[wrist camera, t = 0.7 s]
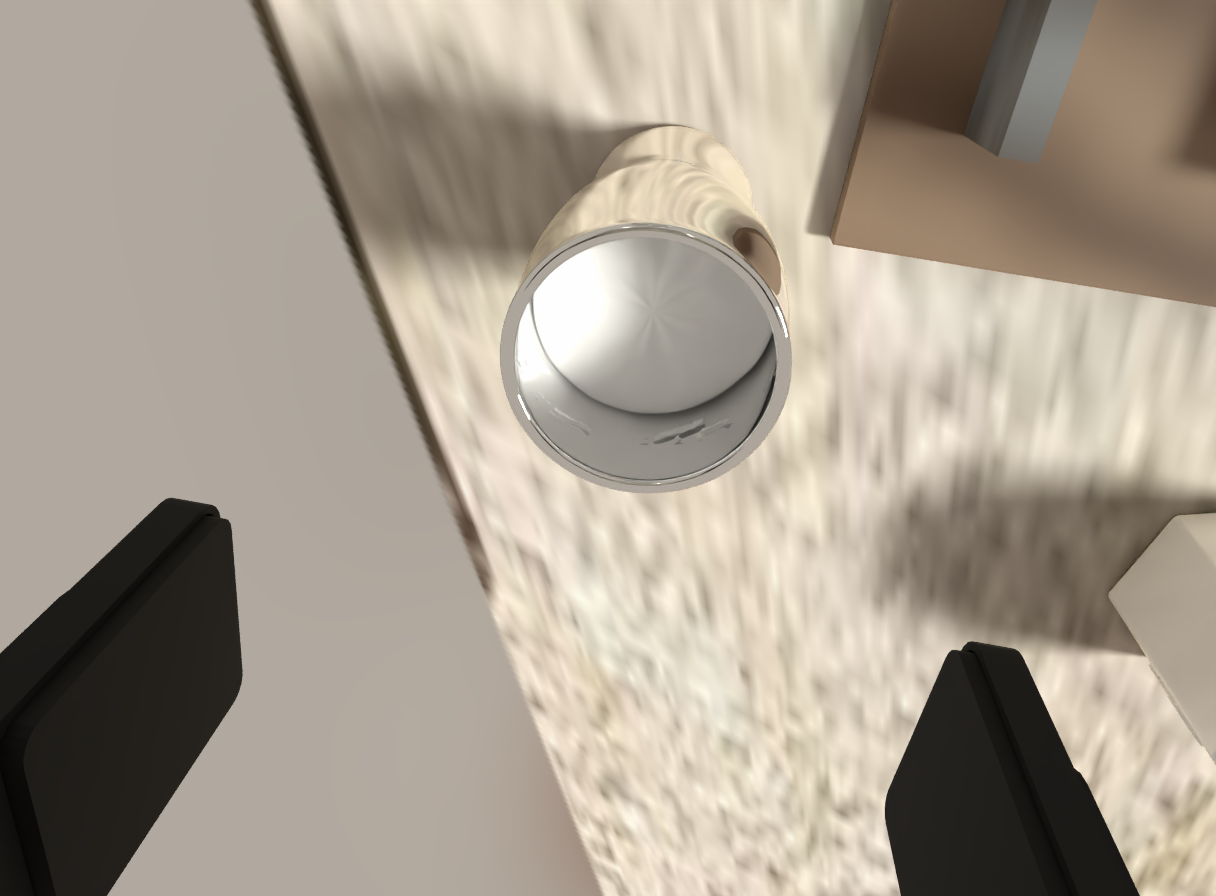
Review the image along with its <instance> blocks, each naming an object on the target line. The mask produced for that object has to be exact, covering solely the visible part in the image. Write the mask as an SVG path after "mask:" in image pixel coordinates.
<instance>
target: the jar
mask: <svg viewBox="0 0 1216 896" xmlns="http://www.w3.org/2000/svg"><path fill="white" fill-rule="evenodd" d="M1109 599H1110V600H1111V602H1112V604H1113V605H1114V607H1115V608H1116V610H1117V611H1118V613H1119V615H1120V616H1121V618H1122V619H1123V621H1124V622H1125V624H1126V626H1127V627H1128V629H1129V630H1130V632H1131V633H1132V635H1133V637H1134V638H1135V640H1136V641H1137V643H1138V644H1139V646H1140V647H1141V649H1142V651H1143V652H1144V654H1145V655H1146V657H1147V658H1148V660H1149V662H1150V664H1149V667H1150V669H1151V670H1152V672H1153V673H1154V675H1155V677H1156V678H1157V680H1158V682H1159V684H1160V685H1161V686H1162V687H1163V689H1164V691H1165V693H1166V694H1167V696H1168V698H1169V700H1170V701H1171V703H1172V704H1173V706H1174V707H1175V709H1176V711H1177V712H1178V714H1179V715H1180V717H1181V718H1182V720H1183V721H1184V723H1185V724H1186V726H1187V727H1188V729H1189V730H1190V732H1191V733H1192V735H1193V736H1194V737H1195V739H1196V740H1197V742H1198V743H1199V744H1200V745H1201V746H1204V748H1205V749H1206V751H1207V752H1208V754H1209V756H1210V757H1211V759H1212V760H1213V761H1214V763H1215V764H1216V513H1205V514H1190V515H1178V516H1175V517H1174V518H1172V520H1171V521H1170V522H1169V523H1168V524H1167V525H1166V527H1165V528H1164V529H1163V530H1162V531H1161V532H1160V534H1159V535H1158V536H1157V537H1156V538H1155V539H1154V541H1153V542H1152V543H1151V544H1150V545H1149V546H1148V548H1147V549H1146V550H1145V551H1144V552H1143V553H1142V555H1141V556H1140V557H1139V558H1138V559H1137V560H1136V562H1135V563H1134V564H1133V565H1132V566H1131V567H1130V569H1129V570H1128V571H1127V572H1126V573H1125V574H1124V576H1123V577H1122V578H1121V579H1120V580H1119V581H1118V583H1117V584H1116V585H1115V586H1114V587H1113V588H1112V590H1111V591H1110V592H1109Z"/></svg>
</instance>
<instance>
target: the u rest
mask: <svg viewBox="0 0 1216 896" xmlns="http://www.w3.org/2000/svg"><path fill="white" fill-rule="evenodd" d="M830 238H831V241H832V243H833V245H840V246H846V247H852V248H858V249H864V250H870V251H876V252H882V253H888V254H895V255H901V256H907V257H913V258H919V259H925V260H931V261H937V262H943V263H950V264H956V265H962V266H968V267H974V268H980V269H986V270H992V271H998V272H1005V273H1011V274H1017V275H1023V276H1029V277H1035V278H1041V279H1047V280H1053V281H1059V282H1066V283H1072V284H1078V285H1084V286H1090V287H1096V288H1102V289H1108V290H1114V291H1121V292H1127V293H1133V294H1139V295H1145V296H1151V297H1157V298H1163V299H1169V300H1176V301H1182V302H1188V303H1194V304H1200V305H1206V306H1212V307H1216V0H892V3H891V6H890V10H889V14H888V18H887V22H886V25H885V29H884V33H883V37H882V41H881V44H880V48H879V52H878V56H877V60H876V64H875V67H874V71H873V75H872V79H871V83H870V86H869V90H868V94H867V98H866V102H865V105H864V109H863V113H862V117H861V121H860V124H859V128H858V132H857V136H856V140H855V143H854V147H853V151H852V155H851V159H850V163H849V166H848V170H847V174H846V178H845V182H844V185H843V189H842V193H841V197H840V201H839V204H838V208H837V212H836V216H835V220H834V223H833V227H832V231H831V235H830Z"/></svg>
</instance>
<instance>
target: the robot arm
mask: <svg viewBox="0 0 1216 896" xmlns="http://www.w3.org/2000/svg"><path fill="white" fill-rule="evenodd" d="M235 581H236V580H235V567H234V555H233V541H232V529H231V524H230V522H229V521H228V520H227V519H223V518H220V514H219V511H218V509H217V508H216V507H215V506H213V505H209V504H203V503H198V502H192V501H187V500H181V499H175V498H168V499H165V500H164V501H163V502H161V503H160V504H159V505H158V506H157V507H156V508H155V509H154V510H153V511H152V512H151V513H150V514H148V516H147V517H145V518H144V519H143V520H142V521H141V522H140V523H139V524H138V525H137V526H136V527H135V528H134V529H133V530H132V531H131V532H130V533H129V534H128V535H127V536H126V537H124V538H123V539H122V540H121V541H120V542H119V543H118V544H117V545H116V546H115V547H114V548H113V549H112V550H111V551H110V552H109V553H108V554H107V555H106V556H105V557H104V558H102V559H101V560H100V561H99V562H98V563H97V564H96V565H95V566H94V567H93V568H92V569H91V570H90V571H89V572H88V573H87V574H86V575H85V576H84V577H83V578H82V579H81V580H80V581H79V582H77V583H76V584H75V585H74V586H73V587H72V588H71V589H70V590H69V591H67V592H66V593H64V594H63V595H62V596H60V597H59V598H58V599H57V600H56V601H55V602H54V603H53V604H52V605H51V606H50V607H49V608H48V609H47V610H46V611H45V612H43V613H42V614H41V615H40V616H39V617H38V618H37V619H36V620H35V621H34V622H33V623H32V624H31V625H30V626H29V627H28V628H27V629H26V630H24V632H23V633H21V634H20V635H19V636H18V637H17V638H16V639H15V640H14V641H13V642H12V643H11V644H10V645H9V646H8V647H7V648H6V649H4V650H3V651H2V652H1V653H0V896H107V894H108V893H109V891H110V890H111V889H112V887H113V886H114V884H115V883H116V881H117V879H118V878H119V876H120V875H121V873H122V872H123V870H124V869H125V867H126V866H127V864H128V863H129V861H130V860H131V858H132V857H133V855H134V854H135V852H136V851H137V849H138V847H139V846H140V844H141V843H142V841H143V840H144V838H145V837H146V835H147V834H148V832H149V831H150V829H151V828H152V826H153V825H154V823H155V822H156V820H157V819H158V817H159V815H160V814H161V813H162V811H163V809H164V808H165V806H166V805H167V803H168V802H169V800H170V799H171V797H172V795H173V794H174V793H175V791H176V790H177V788H178V787H179V785H180V784H181V782H182V780H183V779H184V778H185V776H186V774H187V773H188V771H189V770H190V768H191V767H192V765H193V764H194V762H195V761H196V759H197V758H198V756H199V754H200V753H201V752H202V750H203V748H204V747H205V745H206V744H207V742H208V741H209V739H210V738H211V736H212V735H213V733H214V732H215V730H216V729H217V727H218V726H219V724H220V723H221V721H222V719H223V718H224V717H225V715H226V713H227V712H228V711H229V709H230V708H231V706H232V704H233V703H234V701H235V699H236V697H237V695H238V693H239V690H240V686H241V682H242V658H241V645H240V632H239V619H238V606H237V593H236V582H235ZM885 820H886V826H887V831H888V836H889V840H890V845H891V850H892V855H893V859H894V864H895V869H896V874H897V879H898V883H899V888H900V893H901V896H1140V895H1139V893H1138V891H1137V889H1136V887H1135V885H1134V882H1133V880H1132V878H1131V876H1130V874H1129V872H1128V870H1127V868H1126V865H1125V863H1124V861H1123V859H1122V857H1121V855H1120V853H1119V850H1118V848H1117V846H1116V844H1115V842H1114V840H1113V838H1112V836H1111V833H1110V831H1109V829H1108V827H1107V825H1106V823H1105V821H1104V818H1103V816H1102V814H1101V812H1100V810H1099V808H1098V806H1097V804H1096V801H1095V799H1094V797H1093V795H1092V793H1091V791H1090V789H1089V786H1088V784H1087V783H1086V781H1085V780H1084V778H1083V777H1082V775H1081V773H1080V772H1078V771H1077V770H1076V769H1074V767H1073V765H1072V763H1071V760H1070V758H1069V756H1068V754H1067V752H1066V750H1065V747H1064V745H1063V743H1062V741H1061V739H1060V737H1059V734H1058V732H1057V730H1056V728H1055V726H1054V724H1053V721H1052V719H1051V717H1050V715H1049V713H1048V711H1047V708H1046V706H1045V704H1044V702H1043V700H1042V698H1041V695H1040V693H1039V691H1038V689H1037V687H1036V685H1035V682H1034V680H1033V678H1032V676H1031V674H1030V672H1029V669H1028V667H1027V665H1026V663H1025V661H1024V659H1023V657H1022V655H1021V654H1020V652H1019V651H1017V650H1015V649H1012V648H1007V647H1001V646H995V645H990V644H984V643H979V642H973V641H972V642H968V643H967V644H966V645H965V646H964V647H963V649H962V650H961V651H958V650H951V651H950V652H949V653H948V655H947V657H946V659H945V661H944V663H943V665H942V668H941V670H940V672H939V675H938V677H937V679H936V682H935V684H934V686H933V689H932V691H931V693H930V695H929V698H928V700H927V702H926V705H925V707H924V709H923V712H922V714H921V716H920V718H919V721H918V723H917V725H916V728H915V730H914V732H913V735H912V737H911V739H910V741H909V744H908V746H907V748H906V751H905V753H904V755H903V758H902V760H901V762H900V764H899V767H898V769H897V771H896V774H895V776H894V778H893V781H892V783H891V785H890V788H889V790H888V793H887V796H886V802H885Z"/></svg>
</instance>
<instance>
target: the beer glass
mask: <svg viewBox="0 0 1216 896" xmlns="http://www.w3.org/2000/svg"><path fill="white" fill-rule="evenodd" d="M790 337H791V324H790V303H789V295H788V288H787V282H786V276H785V272H784V268H783V264H782V261H781V258H780V256H779V253H778V250H777V247H776V245H775V242H774V240H773V237H772V235H771V233H770V231H769V229H768V227H767V226H766V224H765V222H764V221H763V219H762V218H761V216H760V215H759V214H758V212H757V211H756V210H755V209H754V207H753V199H752V192H751V188H750V184H749V181H748V178H747V176H746V173H745V171H744V169H743V167H742V166H741V164H740V163H739V161H738V160H737V158H736V157H735V156H734V155H733V153H732V152H731V151H730V150H729V149H728V148H727V147H726V146H725V145H723V144H722V143H721V142H720V141H718V140H717V139H715V138H714V137H712V136H710V135H708V134H706V133H704V132H701V131H699V130H696V129H692V128H688V127H682V126H662V127H656V128H651V129H648V130H645V131H642V132H639V133H637V134H635V135H633V136H631V137H629V138H628V139H626V140H625V141H623V142H622V143H621V144H619V145H618V146H617V147H616V148H615V149H614V150H613V151H612V152H611V153H610V154H609V156H608V157H607V158H606V159H605V161H604V162H603V164H602V165H601V167H600V169H599V170H598V172H597V174H596V176H595V179H594V181H593V182H591V183H590V184H588V185H587V186H585V187H584V188H582V189H581V190H580V191H579V192H577V193H576V194H575V195H574V196H573V197H572V198H571V199H570V200H569V201H568V202H567V203H566V204H565V205H564V206H563V207H562V208H561V209H560V211H559V212H558V213H557V214H556V216H555V217H554V218H553V219H552V221H551V222H550V223H549V224H548V226H547V227H546V228H545V230H544V231H543V233H542V235H541V236H540V238H539V240H538V242H537V244H536V246H535V248H534V249H533V251H532V253H531V255H530V257H529V259H528V262H527V264H526V266H525V269H524V271H523V274H522V277H521V279H520V282H519V285H518V288H517V291H516V294H515V296H514V298H513V300H512V302H511V304H510V306H509V309H508V312H507V315H506V318H505V321H504V325H503V330H502V335H501V344H500V366H501V374H502V380H503V384H504V388H505V392H506V395H507V398H508V400H509V403H510V405H511V408H512V410H513V412H514V414H515V416H516V418H517V419H518V421H519V423H520V424H521V426H522V428H523V429H524V430H525V432H526V433H527V435H528V436H529V437H530V438H531V440H532V441H533V442H534V443H535V444H536V445H537V446H538V447H539V448H540V449H541V450H542V451H543V452H544V453H545V454H546V455H547V456H548V457H549V458H551V459H552V460H553V461H554V462H556V463H557V464H558V465H560V466H561V467H563V468H564V469H566V470H568V471H569V472H571V473H573V474H574V475H576V476H578V477H580V478H582V479H584V480H587V481H589V482H592V483H594V484H597V485H600V486H603V487H606V488H610V489H614V490H619V491H624V492H632V493H667V492H674V491H680V490H684V489H689V488H692V487H696V486H698V485H701V484H704V483H707V482H709V481H711V480H714V479H716V478H718V477H720V476H722V475H723V474H725V473H727V472H729V471H730V470H732V469H733V468H735V467H736V466H738V465H739V464H740V463H742V462H743V461H744V460H745V459H746V458H748V457H749V456H750V455H751V454H752V453H753V452H754V451H755V450H756V449H757V448H758V447H759V446H760V445H761V443H762V442H763V441H764V440H765V438H766V437H767V436H768V434H769V433H770V432H771V430H772V428H773V427H774V425H775V423H776V422H777V420H778V418H779V416H780V414H781V412H782V409H783V407H784V404H785V401H786V398H787V395H788V391H789V387H790V382H791V375H792V346H791V339H790Z"/></svg>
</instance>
